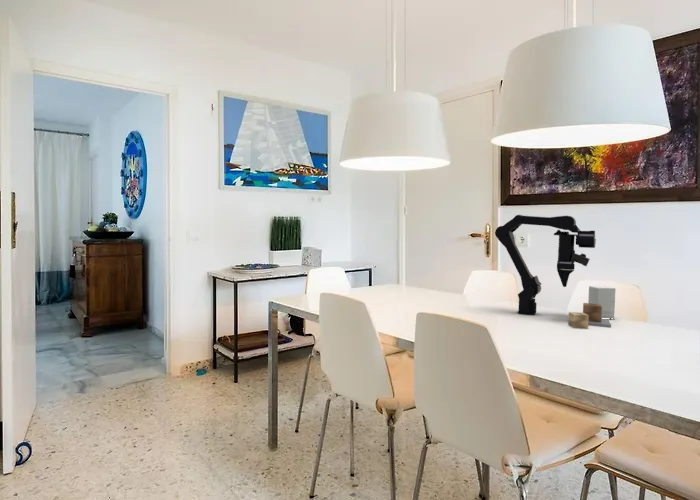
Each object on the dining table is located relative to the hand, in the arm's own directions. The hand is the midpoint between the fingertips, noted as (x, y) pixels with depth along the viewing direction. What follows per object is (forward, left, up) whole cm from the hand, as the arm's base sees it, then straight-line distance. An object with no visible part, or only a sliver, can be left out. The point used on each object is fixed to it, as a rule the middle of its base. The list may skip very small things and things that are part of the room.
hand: (564, 285), depth 188 cm
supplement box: (+14, +8, -13) cm, 21 cm away
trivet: (+10, -6, -13) cm, 17 cm away
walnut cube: (+10, -6, -12) cm, 17 cm away
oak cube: (+5, -17, -13) cm, 22 cm away
